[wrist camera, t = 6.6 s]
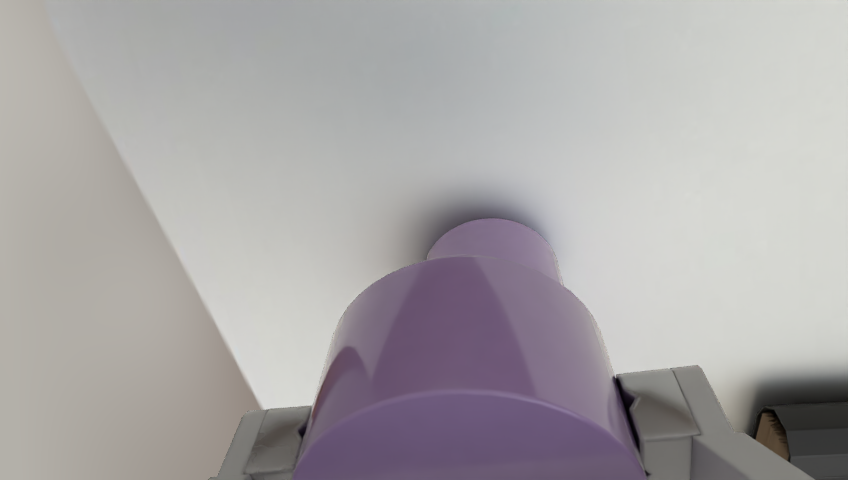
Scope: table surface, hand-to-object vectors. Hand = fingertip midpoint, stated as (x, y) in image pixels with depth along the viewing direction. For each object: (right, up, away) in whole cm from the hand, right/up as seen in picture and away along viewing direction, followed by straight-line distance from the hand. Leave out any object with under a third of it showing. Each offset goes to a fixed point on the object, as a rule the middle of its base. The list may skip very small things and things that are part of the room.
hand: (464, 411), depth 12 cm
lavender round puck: (0, +1, +2) cm, 2 cm away
